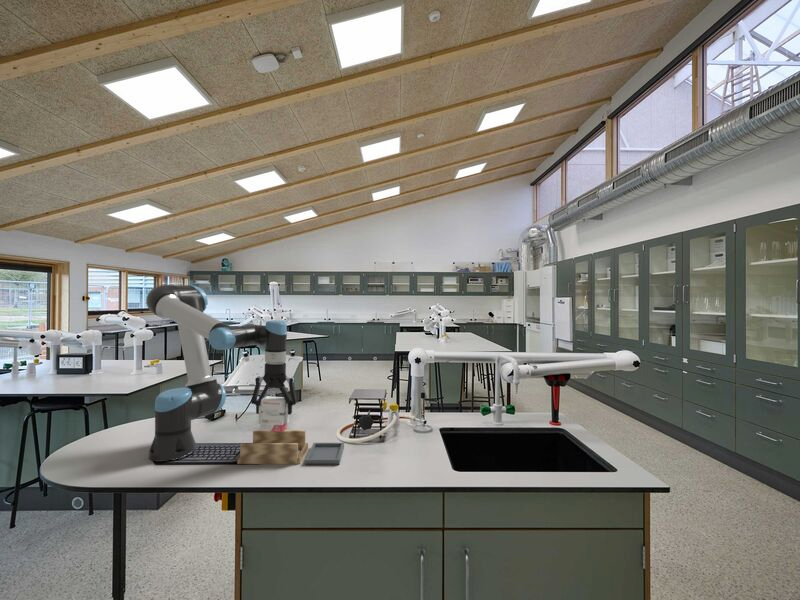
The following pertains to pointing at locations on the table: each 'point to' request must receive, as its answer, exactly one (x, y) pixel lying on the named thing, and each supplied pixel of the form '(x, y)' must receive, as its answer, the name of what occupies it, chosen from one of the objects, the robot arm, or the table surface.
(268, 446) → the rack
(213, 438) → the table surface
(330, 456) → the tray
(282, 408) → the ink box
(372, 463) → the table surface
